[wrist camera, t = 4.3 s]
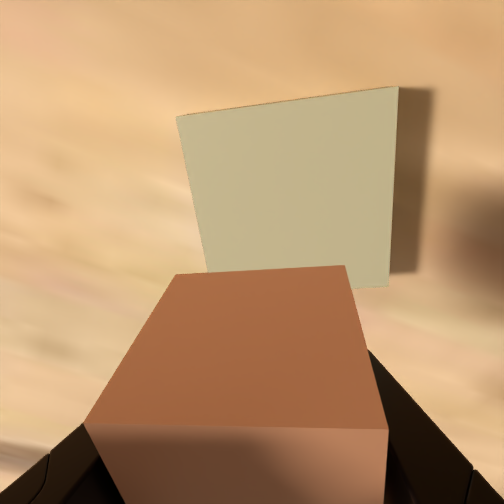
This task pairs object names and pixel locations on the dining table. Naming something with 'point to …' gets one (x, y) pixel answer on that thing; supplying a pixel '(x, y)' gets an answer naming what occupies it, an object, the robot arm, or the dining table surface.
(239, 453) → the orange brown cube
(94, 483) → the robot arm
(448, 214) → the dining table surface
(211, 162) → the base plate
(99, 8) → the dining table surface
